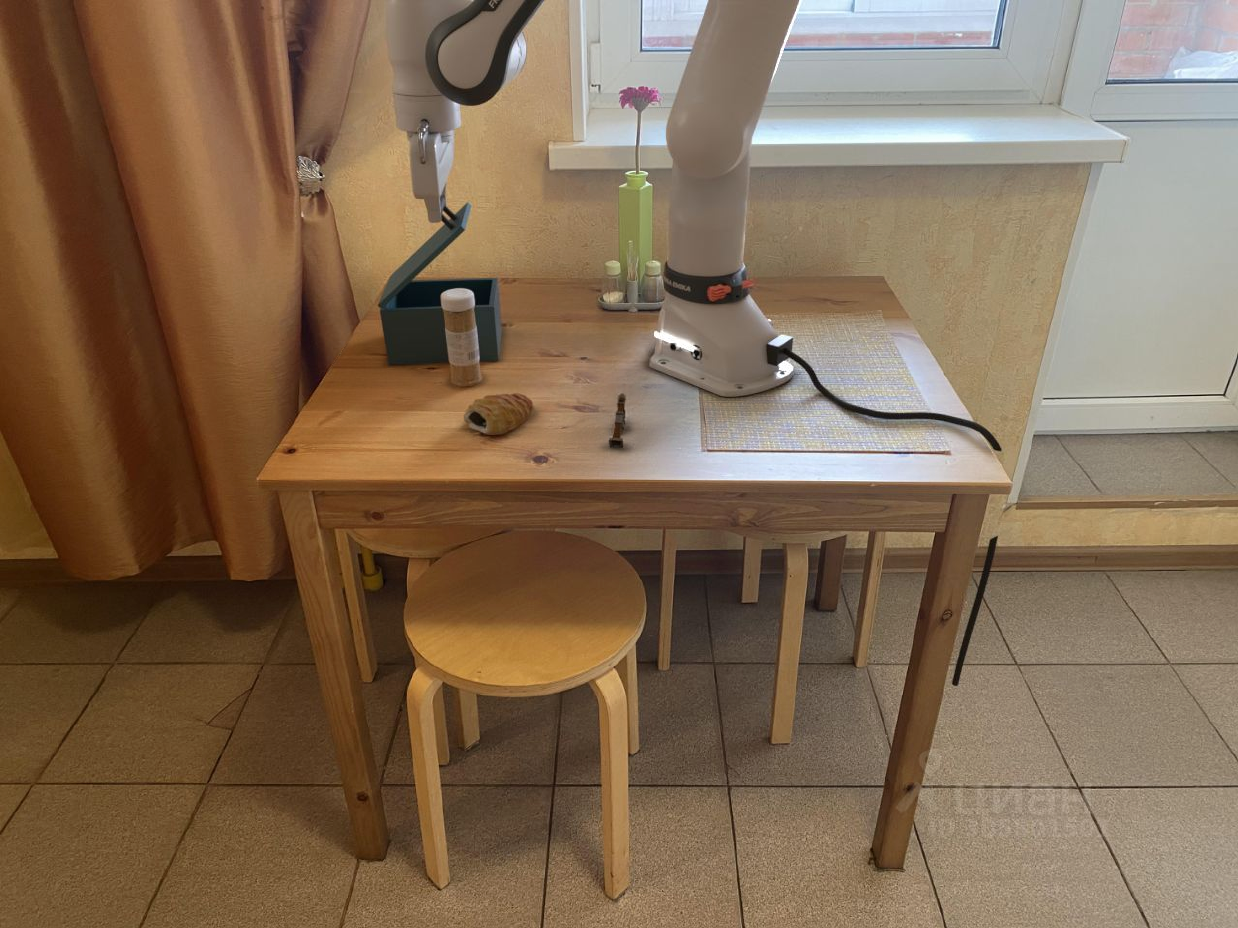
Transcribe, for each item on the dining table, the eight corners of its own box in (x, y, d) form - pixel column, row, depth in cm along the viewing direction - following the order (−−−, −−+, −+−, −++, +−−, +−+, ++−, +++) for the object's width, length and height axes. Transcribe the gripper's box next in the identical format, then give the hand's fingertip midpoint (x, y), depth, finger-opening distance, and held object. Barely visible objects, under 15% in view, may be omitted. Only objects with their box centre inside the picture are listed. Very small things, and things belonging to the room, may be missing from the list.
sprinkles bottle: (471, 371, 131) (462, 284, 124) (488, 381, 128) (480, 293, 121) (444, 380, 129) (434, 292, 122) (460, 390, 126) (450, 301, 119)
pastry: (512, 401, 123) (510, 376, 121) (546, 416, 119) (545, 391, 117) (460, 425, 117) (457, 400, 115) (494, 443, 113) (492, 416, 111)
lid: (471, 205, 134) (447, 180, 132) (465, 230, 123) (438, 203, 121) (393, 279, 139) (369, 257, 137) (381, 309, 129) (354, 284, 126)
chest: (502, 329, 145) (497, 277, 140) (498, 361, 134) (494, 306, 130) (399, 332, 144) (392, 280, 139) (388, 365, 133) (379, 310, 129)
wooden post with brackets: (630, 411, 118) (629, 390, 114) (624, 460, 113) (622, 439, 110) (616, 410, 118) (615, 389, 114) (610, 459, 114) (608, 438, 110)
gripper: (443, 128, 112) (453, 235, 120) (457, 101, 130) (465, 196, 137) (393, 129, 112) (406, 236, 119) (414, 101, 129) (424, 196, 137)
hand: (438, 214), depth 128 cm, fingers closed on lid, 5 cm apart
